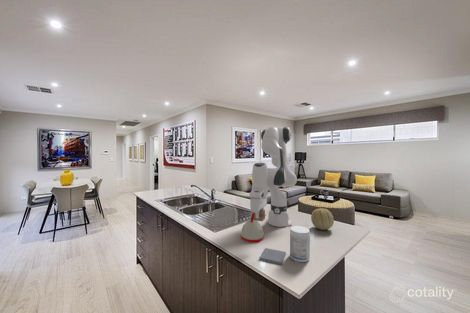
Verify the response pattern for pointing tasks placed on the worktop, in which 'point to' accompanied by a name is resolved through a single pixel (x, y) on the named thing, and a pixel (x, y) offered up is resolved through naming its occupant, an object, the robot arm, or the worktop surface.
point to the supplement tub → (300, 243)
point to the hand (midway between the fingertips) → (259, 216)
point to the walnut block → (262, 215)
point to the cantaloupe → (322, 218)
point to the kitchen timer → (252, 231)
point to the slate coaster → (272, 256)
